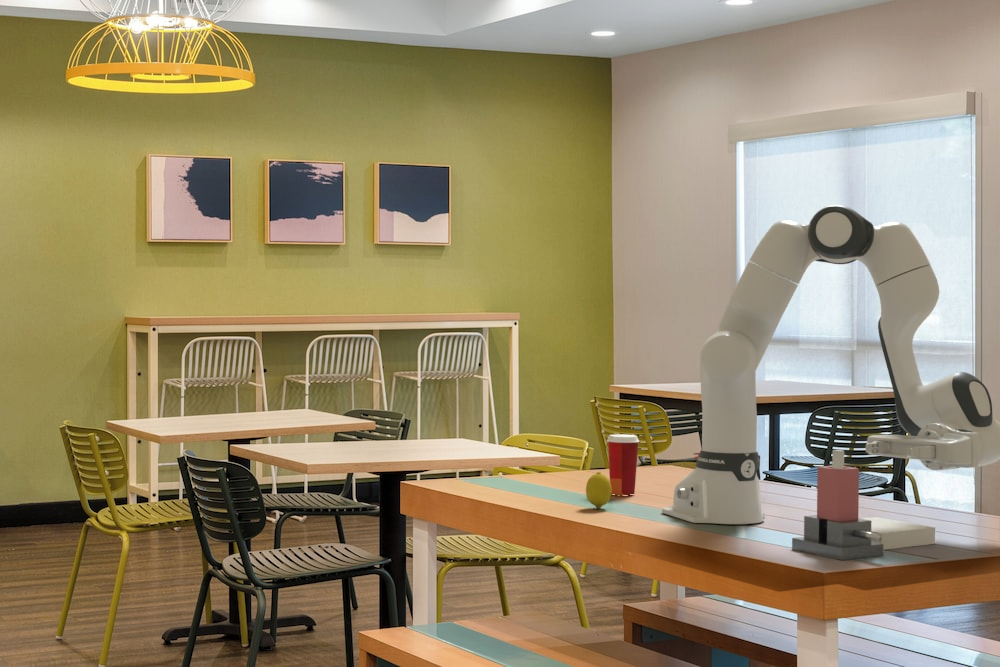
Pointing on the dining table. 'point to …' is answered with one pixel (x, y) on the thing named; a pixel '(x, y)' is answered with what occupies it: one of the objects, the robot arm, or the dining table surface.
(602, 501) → the lemon
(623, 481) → the paper cup
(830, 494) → the sleeve
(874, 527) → the block
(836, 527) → the vise
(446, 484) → the dining table surface
